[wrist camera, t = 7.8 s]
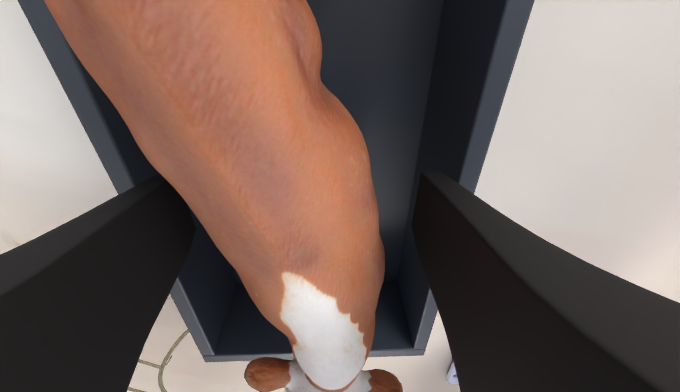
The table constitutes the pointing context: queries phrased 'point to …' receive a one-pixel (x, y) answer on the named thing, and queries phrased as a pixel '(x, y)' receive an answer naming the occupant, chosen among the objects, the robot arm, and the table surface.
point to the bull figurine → (253, 164)
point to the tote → (379, 135)
